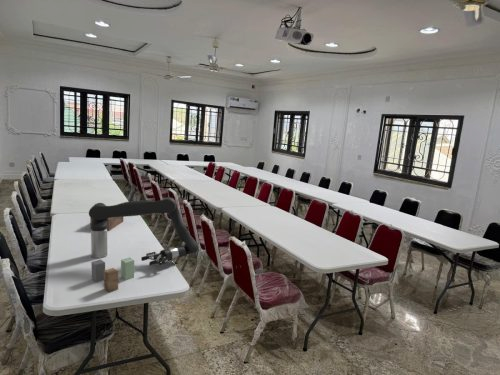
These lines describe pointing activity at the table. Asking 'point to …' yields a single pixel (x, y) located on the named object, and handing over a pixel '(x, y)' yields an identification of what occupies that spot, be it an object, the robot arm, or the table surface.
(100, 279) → the charcoal block
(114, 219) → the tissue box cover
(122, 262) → the sage block
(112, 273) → the walnut block
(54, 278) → the table surface
